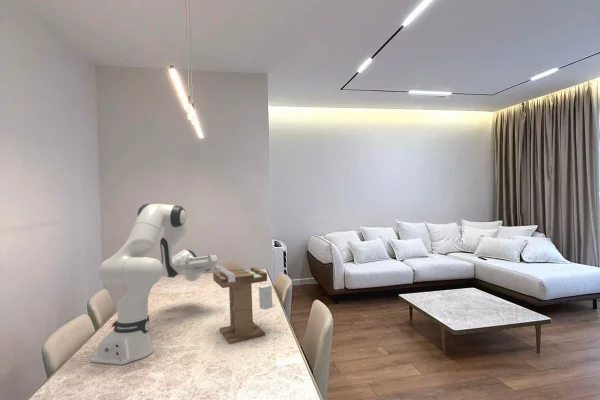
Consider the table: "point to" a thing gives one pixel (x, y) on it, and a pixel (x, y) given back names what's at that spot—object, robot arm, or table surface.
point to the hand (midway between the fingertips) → (199, 256)
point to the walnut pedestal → (241, 304)
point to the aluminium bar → (224, 273)
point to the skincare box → (265, 296)
